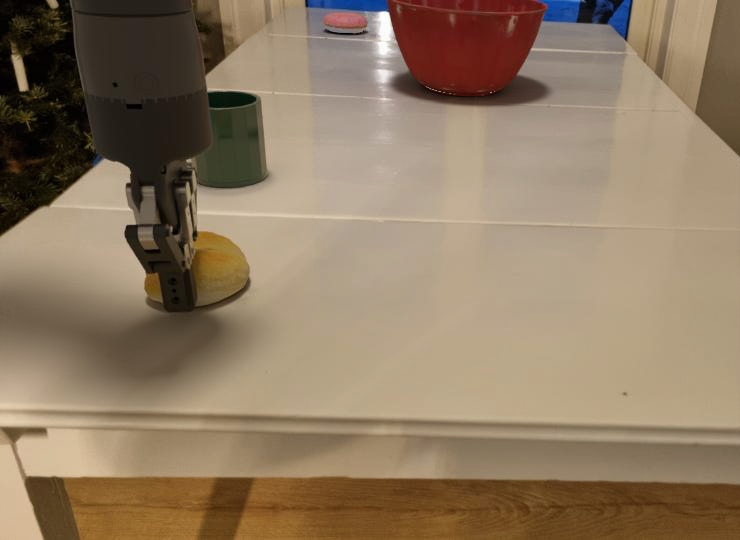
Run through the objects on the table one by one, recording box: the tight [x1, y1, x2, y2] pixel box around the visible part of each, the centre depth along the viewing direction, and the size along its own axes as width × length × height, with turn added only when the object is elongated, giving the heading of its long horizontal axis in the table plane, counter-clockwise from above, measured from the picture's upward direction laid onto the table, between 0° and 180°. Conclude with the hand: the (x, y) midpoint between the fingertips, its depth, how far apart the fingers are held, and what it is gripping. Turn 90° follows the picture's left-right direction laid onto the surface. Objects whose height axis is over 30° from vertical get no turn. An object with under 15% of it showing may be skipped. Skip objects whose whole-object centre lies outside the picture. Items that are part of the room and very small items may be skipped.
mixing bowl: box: [386, 0, 549, 97], centre depth 126 cm, size 28×28×15 cm
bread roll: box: [143, 230, 251, 307], centre depth 60 cm, size 8×9×4 cm
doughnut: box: [322, 11, 369, 35], centre depth 175 cm, size 11×11×4 cm
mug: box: [190, 90, 268, 189], centre depth 83 cm, size 12×8×9 cm
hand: (181, 307), depth 55 cm, fingers closed
